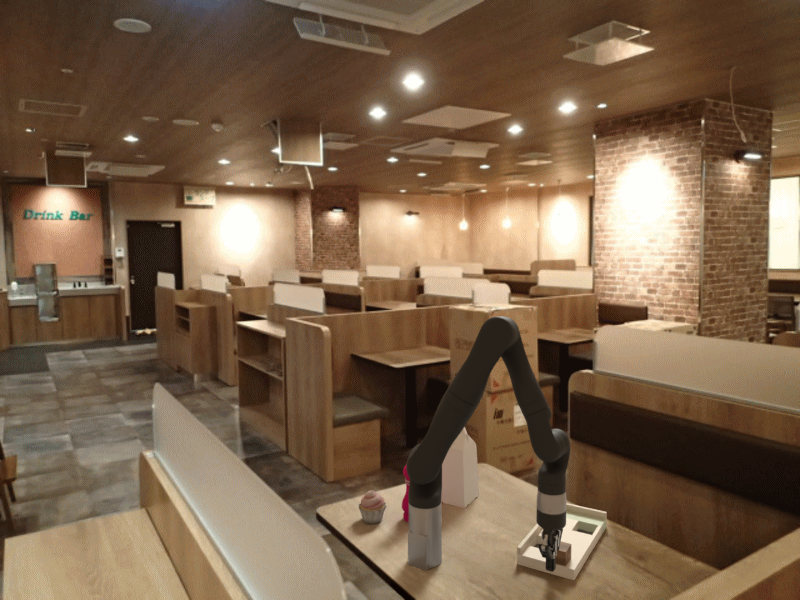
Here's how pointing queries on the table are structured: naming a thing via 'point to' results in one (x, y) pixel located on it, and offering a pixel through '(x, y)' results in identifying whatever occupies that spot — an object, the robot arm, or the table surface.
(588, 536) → the tray
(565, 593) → the table surface
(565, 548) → the block
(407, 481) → the pepper mill
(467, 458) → the milk
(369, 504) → the cupcake
